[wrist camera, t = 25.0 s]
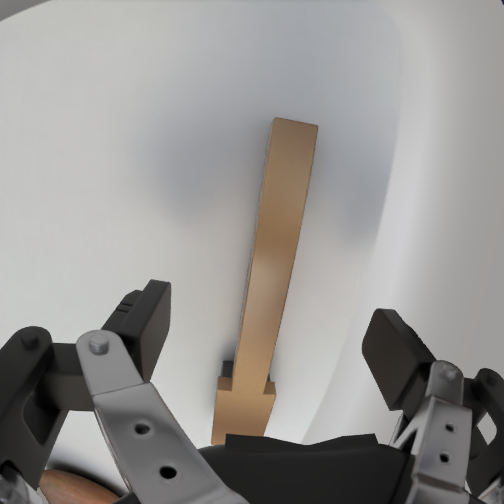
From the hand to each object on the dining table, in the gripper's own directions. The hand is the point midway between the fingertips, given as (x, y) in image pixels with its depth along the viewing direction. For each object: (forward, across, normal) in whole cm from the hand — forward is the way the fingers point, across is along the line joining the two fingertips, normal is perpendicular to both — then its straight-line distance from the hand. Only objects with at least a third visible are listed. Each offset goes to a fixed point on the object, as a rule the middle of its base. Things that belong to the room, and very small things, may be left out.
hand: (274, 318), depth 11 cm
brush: (+5, 0, +3) cm, 6 cm away
